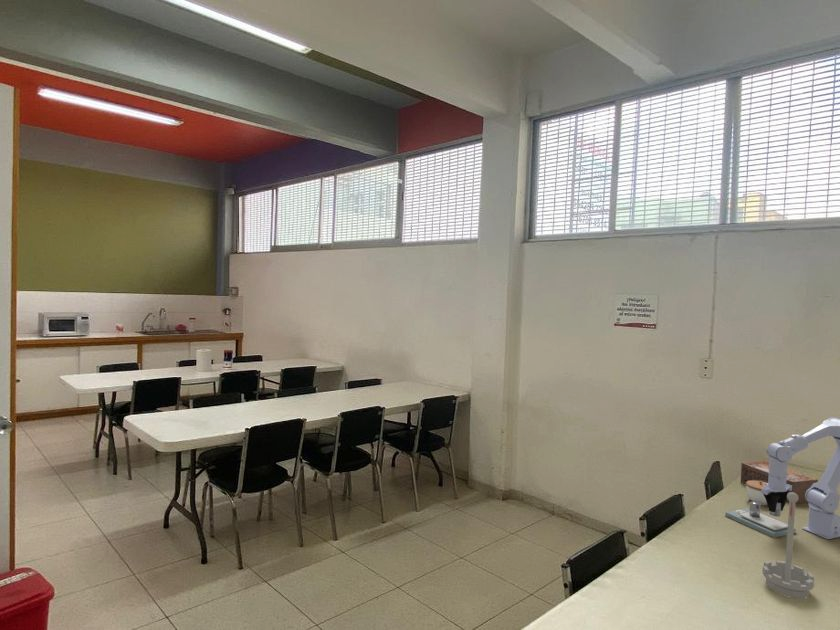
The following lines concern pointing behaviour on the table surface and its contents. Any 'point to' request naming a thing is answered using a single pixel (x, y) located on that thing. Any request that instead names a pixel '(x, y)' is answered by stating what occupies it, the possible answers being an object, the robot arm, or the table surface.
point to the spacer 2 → (778, 510)
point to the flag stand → (788, 565)
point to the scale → (759, 522)
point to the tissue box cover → (797, 480)
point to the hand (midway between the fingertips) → (775, 510)
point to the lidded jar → (756, 491)
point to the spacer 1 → (754, 509)
